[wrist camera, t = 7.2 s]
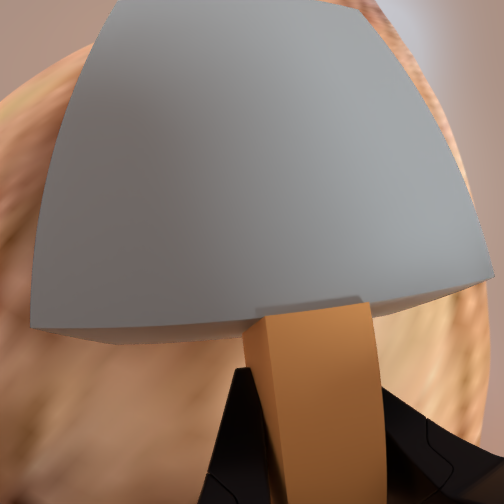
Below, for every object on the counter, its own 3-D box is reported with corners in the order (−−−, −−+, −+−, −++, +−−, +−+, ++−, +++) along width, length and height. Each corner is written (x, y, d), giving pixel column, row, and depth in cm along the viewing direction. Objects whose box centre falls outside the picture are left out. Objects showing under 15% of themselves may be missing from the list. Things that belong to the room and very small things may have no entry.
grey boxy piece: (402, 424, 10) (512, 444, 5) (133, 469, 9) (73, 551, 3) (324, 90, 16) (359, 6, 10) (133, 91, 14) (117, -3, 8)
